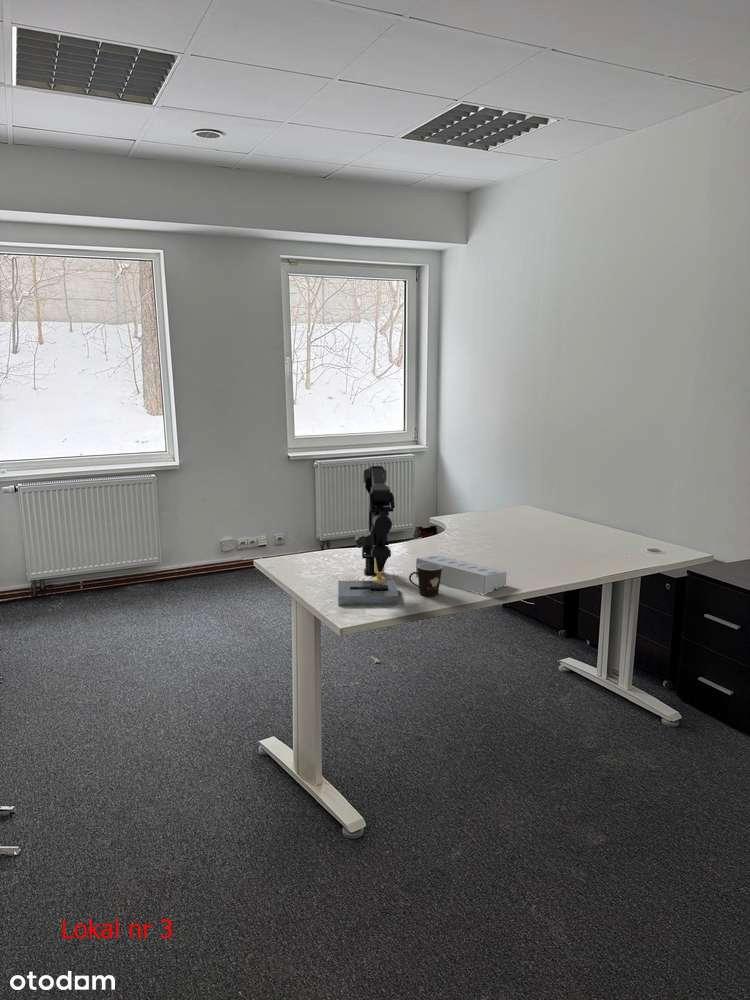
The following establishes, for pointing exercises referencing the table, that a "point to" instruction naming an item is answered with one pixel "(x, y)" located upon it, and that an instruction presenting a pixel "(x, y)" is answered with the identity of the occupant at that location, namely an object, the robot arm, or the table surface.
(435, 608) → the table surface
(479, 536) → the table surface
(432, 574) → the coffee mug
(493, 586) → the white power strip
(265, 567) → the table surface
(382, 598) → the keyhole plate
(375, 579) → the peg
